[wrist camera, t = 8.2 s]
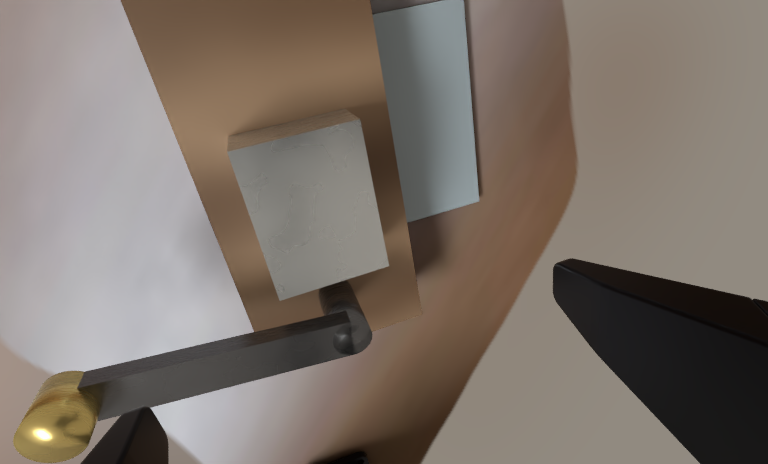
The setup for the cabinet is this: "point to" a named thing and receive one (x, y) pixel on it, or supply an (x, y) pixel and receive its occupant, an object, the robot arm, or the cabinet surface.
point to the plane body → (271, 107)
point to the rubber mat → (429, 105)
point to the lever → (185, 375)
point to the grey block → (310, 200)
